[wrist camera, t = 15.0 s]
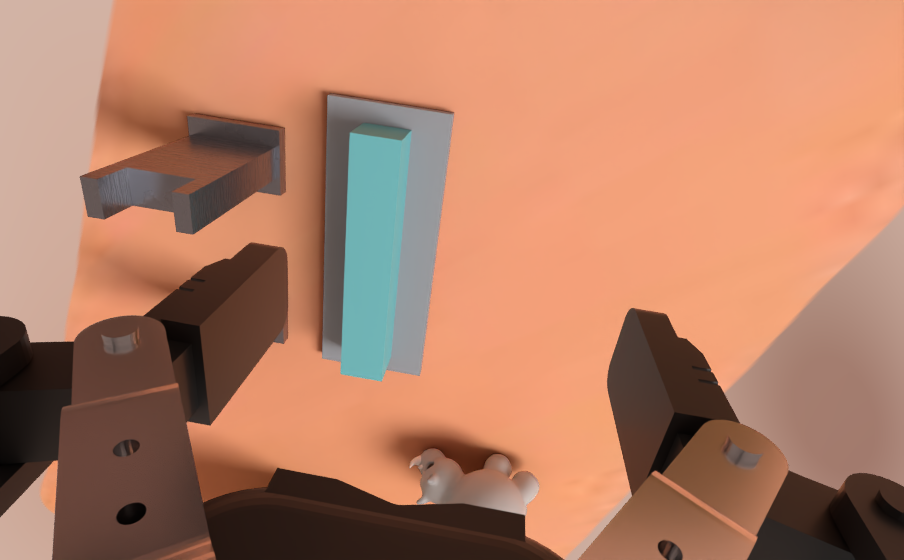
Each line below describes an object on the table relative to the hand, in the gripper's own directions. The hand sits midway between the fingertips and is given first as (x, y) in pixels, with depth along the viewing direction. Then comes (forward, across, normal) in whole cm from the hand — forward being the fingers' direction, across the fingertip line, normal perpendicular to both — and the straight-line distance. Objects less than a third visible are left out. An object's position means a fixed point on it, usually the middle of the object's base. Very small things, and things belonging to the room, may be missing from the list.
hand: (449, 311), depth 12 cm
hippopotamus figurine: (+28, -4, +34) cm, 44 cm away
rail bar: (+27, +8, +12) cm, 31 cm away
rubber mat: (+28, +8, +12) cm, 31 cm away
